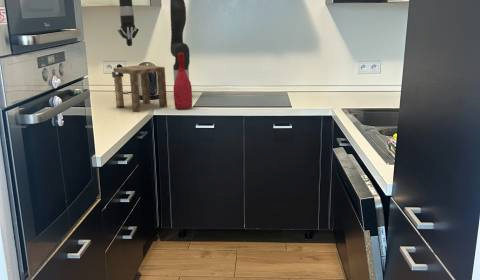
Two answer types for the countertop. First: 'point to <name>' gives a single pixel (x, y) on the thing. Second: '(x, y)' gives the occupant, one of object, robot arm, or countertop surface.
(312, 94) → the countertop surface
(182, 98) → the red bottle
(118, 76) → the oak leg
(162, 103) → the walnut stool
